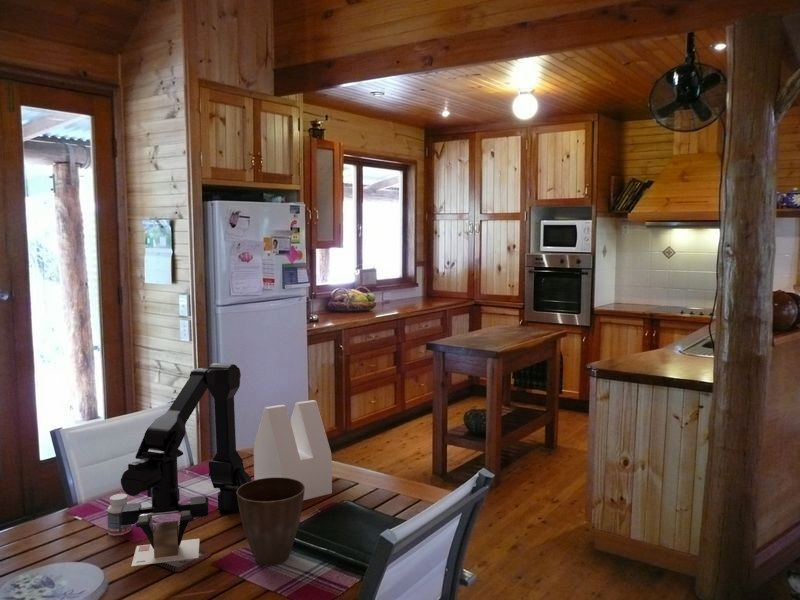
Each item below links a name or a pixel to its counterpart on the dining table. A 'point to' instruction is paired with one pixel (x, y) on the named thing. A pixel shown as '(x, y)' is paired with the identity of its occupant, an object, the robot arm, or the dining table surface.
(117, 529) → the pill bottle
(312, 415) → the white forked block
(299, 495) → the plant pot
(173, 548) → the walnut block
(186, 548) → the letter
